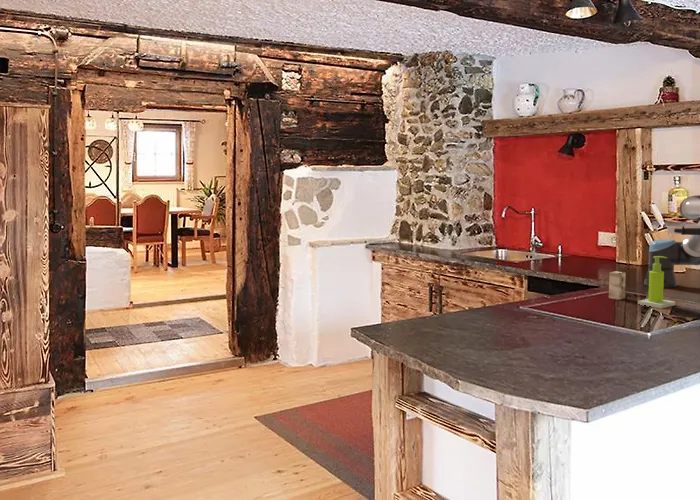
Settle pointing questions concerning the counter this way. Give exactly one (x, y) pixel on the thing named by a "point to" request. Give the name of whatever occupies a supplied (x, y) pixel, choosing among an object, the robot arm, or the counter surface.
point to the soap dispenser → (656, 281)
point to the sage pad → (657, 303)
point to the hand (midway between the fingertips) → (677, 228)
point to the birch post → (617, 285)
